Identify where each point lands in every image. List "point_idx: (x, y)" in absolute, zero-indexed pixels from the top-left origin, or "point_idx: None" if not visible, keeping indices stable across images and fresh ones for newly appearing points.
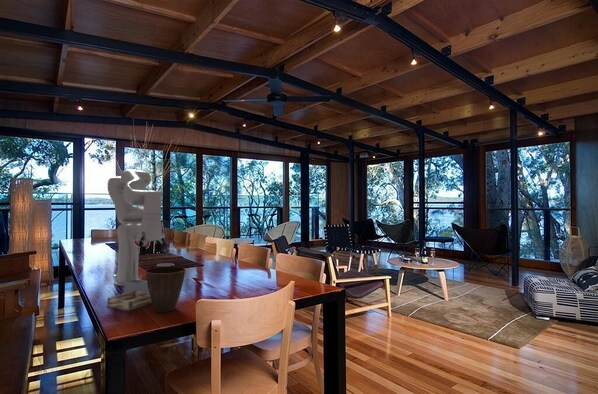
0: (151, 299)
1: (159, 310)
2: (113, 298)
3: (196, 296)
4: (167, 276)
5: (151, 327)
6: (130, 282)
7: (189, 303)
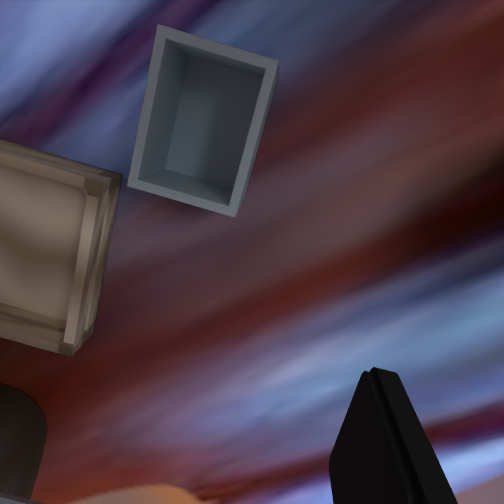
0: None
1: None
2: None
3: (249, 477)
4: None
5: None
6: (149, 98)
7: (124, 484)
